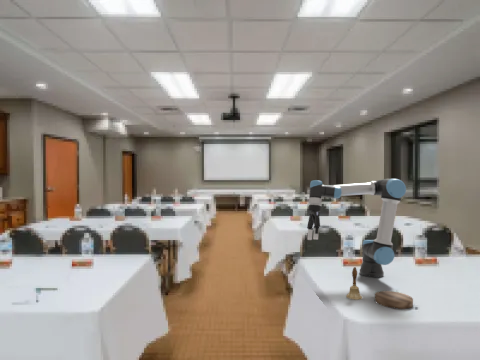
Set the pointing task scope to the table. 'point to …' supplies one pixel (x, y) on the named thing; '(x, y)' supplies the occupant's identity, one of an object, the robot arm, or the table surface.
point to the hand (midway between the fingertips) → (312, 239)
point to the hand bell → (354, 288)
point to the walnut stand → (393, 299)
